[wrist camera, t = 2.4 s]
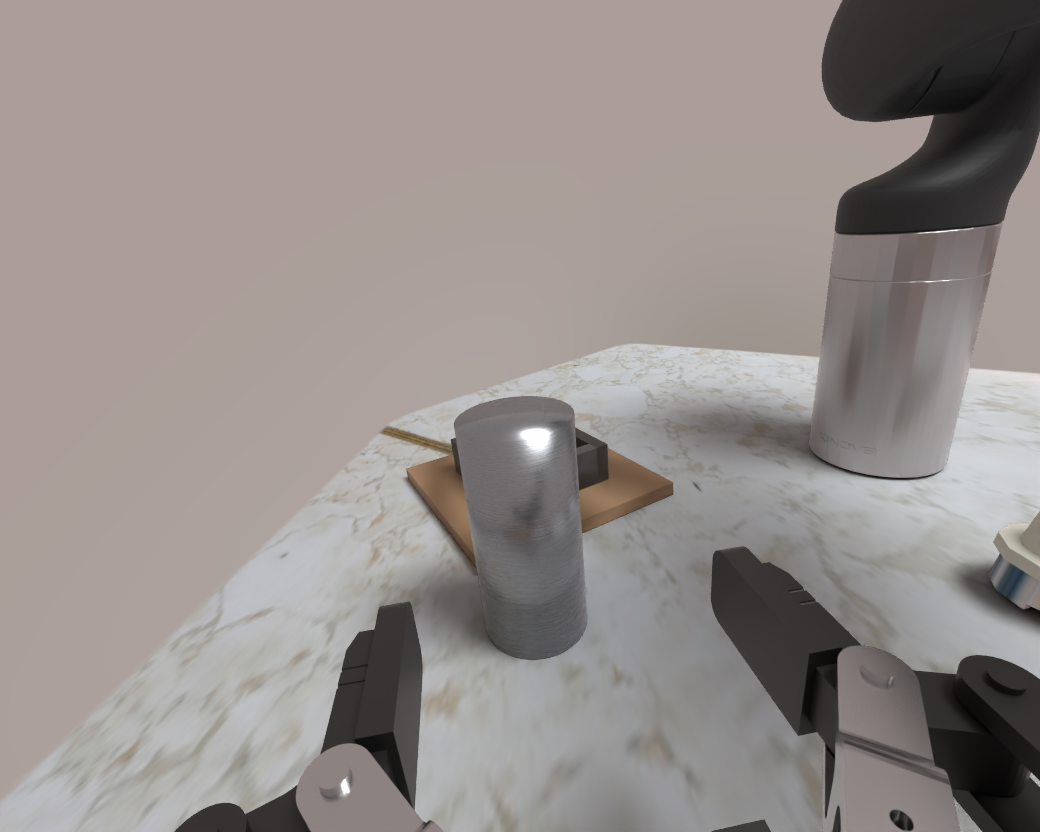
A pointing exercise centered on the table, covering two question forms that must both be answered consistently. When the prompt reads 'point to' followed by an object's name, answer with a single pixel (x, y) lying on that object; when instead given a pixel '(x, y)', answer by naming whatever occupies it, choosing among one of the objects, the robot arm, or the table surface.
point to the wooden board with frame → (601, 474)
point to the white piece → (1018, 564)
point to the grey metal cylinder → (525, 522)
